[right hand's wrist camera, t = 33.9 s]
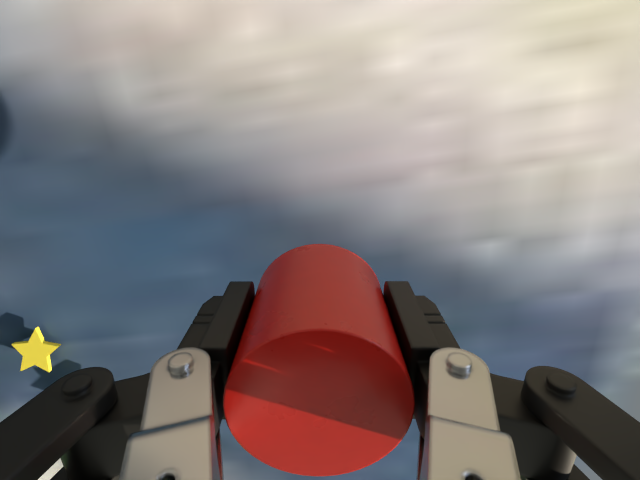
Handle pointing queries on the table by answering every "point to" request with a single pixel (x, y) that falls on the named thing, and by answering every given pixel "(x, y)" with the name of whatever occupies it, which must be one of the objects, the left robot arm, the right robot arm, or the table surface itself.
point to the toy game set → (36, 351)
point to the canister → (318, 367)
